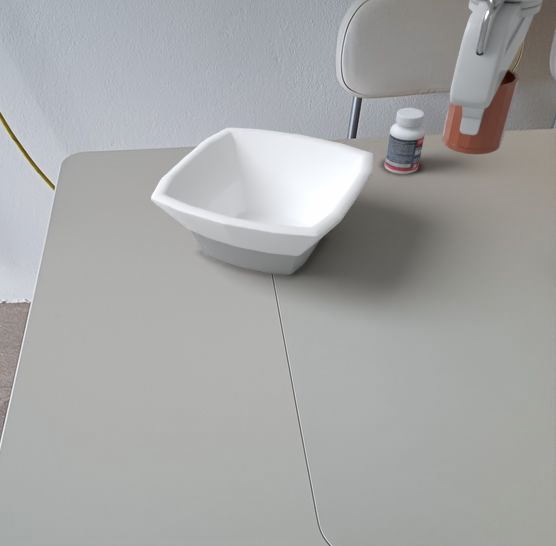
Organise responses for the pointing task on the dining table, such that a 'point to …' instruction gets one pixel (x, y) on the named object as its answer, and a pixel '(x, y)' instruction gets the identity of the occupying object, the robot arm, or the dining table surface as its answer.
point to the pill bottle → (405, 141)
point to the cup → (483, 121)
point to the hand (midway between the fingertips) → (477, 117)
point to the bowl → (263, 195)
